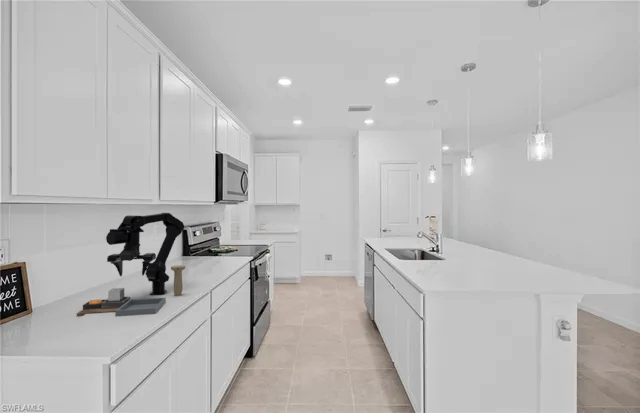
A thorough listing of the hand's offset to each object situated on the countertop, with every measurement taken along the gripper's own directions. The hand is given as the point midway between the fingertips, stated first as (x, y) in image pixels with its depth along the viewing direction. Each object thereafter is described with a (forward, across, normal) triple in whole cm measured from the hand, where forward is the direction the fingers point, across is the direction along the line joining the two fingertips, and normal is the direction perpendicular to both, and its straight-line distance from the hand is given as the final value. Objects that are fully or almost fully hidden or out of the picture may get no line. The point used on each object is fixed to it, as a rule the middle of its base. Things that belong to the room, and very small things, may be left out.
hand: (132, 275), depth 141 cm
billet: (+11, -3, -9) cm, 14 cm away
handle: (+12, +19, +4) cm, 23 cm away
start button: (+11, -11, -9) cm, 18 cm away
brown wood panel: (+12, -6, -9) cm, 16 cm away
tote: (+12, +9, -14) cm, 21 cm away
